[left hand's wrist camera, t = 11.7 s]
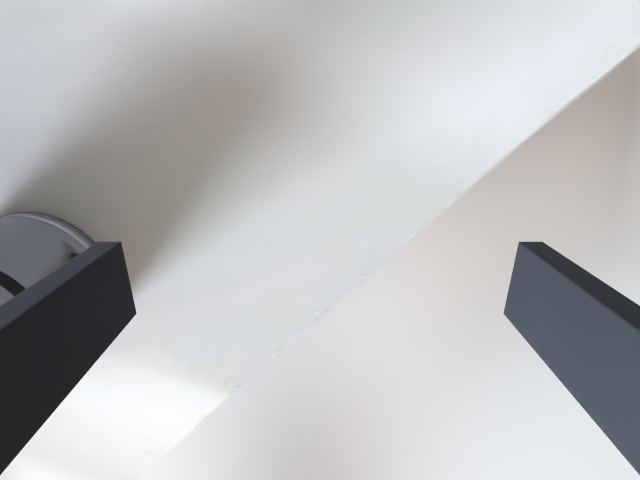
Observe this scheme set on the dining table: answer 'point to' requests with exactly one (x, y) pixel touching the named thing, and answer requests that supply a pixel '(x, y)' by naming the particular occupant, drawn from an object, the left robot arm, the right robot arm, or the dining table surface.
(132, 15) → the dining table surface
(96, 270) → the left robot arm
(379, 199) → the dining table surface
